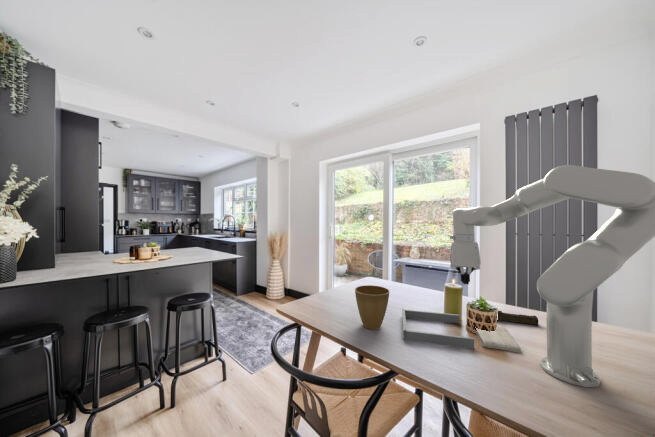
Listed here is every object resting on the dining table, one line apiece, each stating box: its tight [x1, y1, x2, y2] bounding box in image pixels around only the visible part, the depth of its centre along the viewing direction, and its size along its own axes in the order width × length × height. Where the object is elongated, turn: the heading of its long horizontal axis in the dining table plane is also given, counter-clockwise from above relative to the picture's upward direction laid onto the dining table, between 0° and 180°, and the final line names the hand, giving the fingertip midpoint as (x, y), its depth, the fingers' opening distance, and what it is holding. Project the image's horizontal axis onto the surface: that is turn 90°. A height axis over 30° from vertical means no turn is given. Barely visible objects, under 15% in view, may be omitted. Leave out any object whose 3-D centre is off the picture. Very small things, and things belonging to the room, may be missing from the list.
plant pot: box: [354, 284, 390, 331], centre depth 104 cm, size 15×15×16 cm
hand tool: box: [497, 310, 539, 327], centre depth 107 cm, size 19×4×5 cm, turn 67°
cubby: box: [401, 309, 475, 350], centre depth 99 cm, size 22×24×4 cm
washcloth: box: [475, 325, 522, 353], centre depth 92 cm, size 12×18×3 cm, turn 160°
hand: (465, 283), depth 96 cm, fingers closed
